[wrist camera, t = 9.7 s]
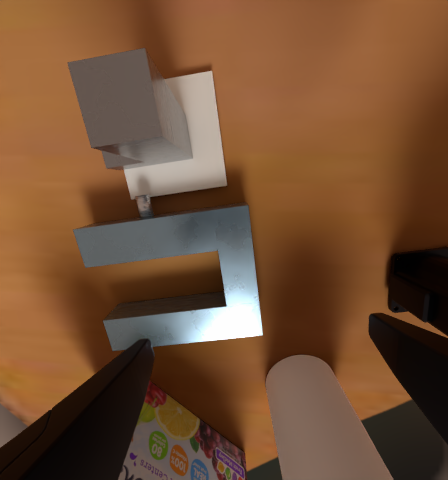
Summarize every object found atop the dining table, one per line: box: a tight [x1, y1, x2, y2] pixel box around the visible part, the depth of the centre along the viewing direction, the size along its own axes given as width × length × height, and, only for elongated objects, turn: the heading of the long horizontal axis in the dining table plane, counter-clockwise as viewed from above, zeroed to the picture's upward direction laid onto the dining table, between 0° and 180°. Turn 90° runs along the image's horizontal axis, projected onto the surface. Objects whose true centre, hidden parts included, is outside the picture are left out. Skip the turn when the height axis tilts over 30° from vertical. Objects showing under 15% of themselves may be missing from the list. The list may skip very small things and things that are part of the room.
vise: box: [73, 194, 263, 351], centre depth 20 cm, size 15×14×3 cm
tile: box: [124, 71, 227, 200], centre depth 19 cm, size 9×9×1 cm
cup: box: [266, 355, 393, 480], centre depth 18 cm, size 8×8×16 cm
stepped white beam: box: [68, 48, 193, 170], centre depth 14 cm, size 7×4×9 cm, turn 98°
